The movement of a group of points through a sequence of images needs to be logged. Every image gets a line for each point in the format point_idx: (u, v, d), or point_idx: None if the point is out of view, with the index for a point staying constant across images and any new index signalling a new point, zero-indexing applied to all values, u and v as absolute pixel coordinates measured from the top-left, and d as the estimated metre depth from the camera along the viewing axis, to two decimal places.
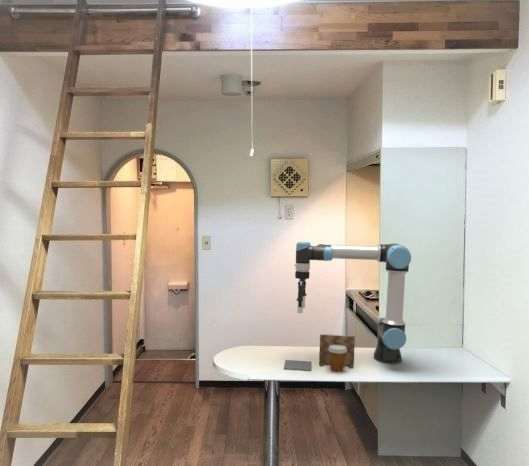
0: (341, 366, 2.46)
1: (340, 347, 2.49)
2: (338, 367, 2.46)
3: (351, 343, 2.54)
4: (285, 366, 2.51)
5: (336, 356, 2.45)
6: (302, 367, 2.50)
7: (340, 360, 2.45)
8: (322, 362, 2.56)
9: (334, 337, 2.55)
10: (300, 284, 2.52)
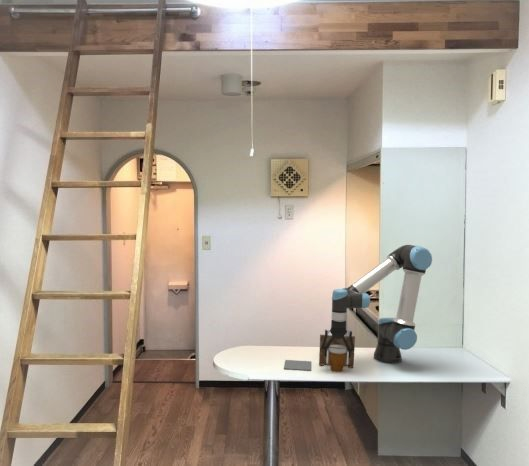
0: (341, 366, 2.46)
1: (340, 347, 2.49)
2: (338, 367, 2.46)
3: None
4: (285, 366, 2.51)
5: (336, 356, 2.45)
6: (302, 367, 2.50)
7: (340, 360, 2.45)
8: (322, 362, 2.56)
9: None
10: (325, 332, 2.49)
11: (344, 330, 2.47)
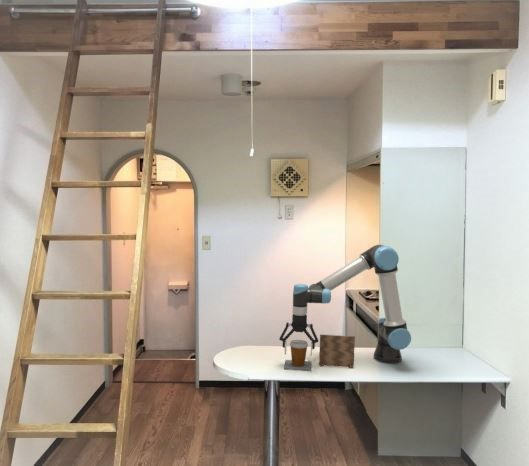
0: (302, 361, 2.51)
1: (301, 342, 2.54)
2: (298, 362, 2.51)
3: (351, 343, 2.54)
4: (285, 366, 2.51)
5: (296, 351, 2.50)
6: (302, 367, 2.50)
7: (301, 354, 2.50)
8: (322, 362, 2.56)
9: (334, 337, 2.55)
10: (286, 325, 2.54)
11: (304, 324, 2.52)
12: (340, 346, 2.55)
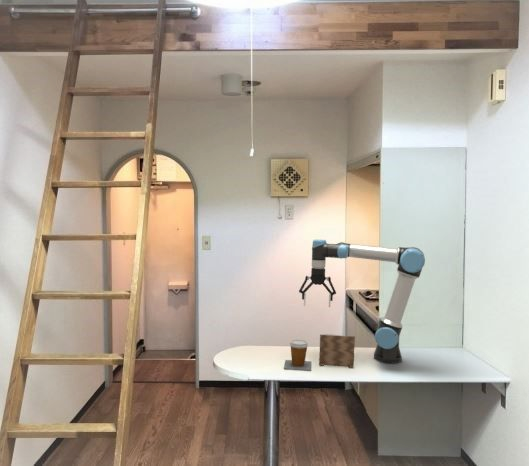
0: (302, 361, 2.51)
1: (301, 342, 2.54)
2: (298, 362, 2.51)
3: (351, 343, 2.54)
4: (285, 366, 2.51)
5: (296, 351, 2.50)
6: (302, 367, 2.50)
7: (301, 354, 2.50)
8: (322, 362, 2.56)
9: (334, 337, 2.55)
10: (305, 278, 2.68)
11: (323, 277, 2.66)
12: (340, 346, 2.55)
